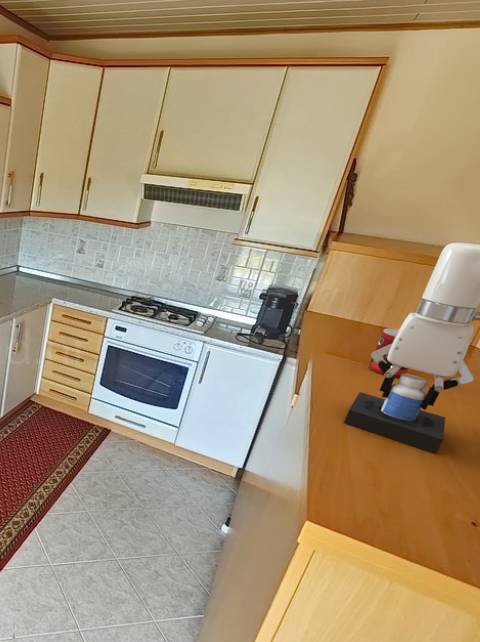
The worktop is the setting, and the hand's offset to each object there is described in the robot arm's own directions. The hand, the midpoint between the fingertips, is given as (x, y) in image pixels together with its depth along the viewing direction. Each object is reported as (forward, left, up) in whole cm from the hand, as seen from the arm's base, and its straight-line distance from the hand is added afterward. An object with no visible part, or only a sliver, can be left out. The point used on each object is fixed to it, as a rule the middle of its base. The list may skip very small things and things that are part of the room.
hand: (404, 400), depth 95 cm
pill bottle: (0, 0, -5) cm, 5 cm away
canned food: (-26, -33, -6) cm, 43 cm away
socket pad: (0, 0, -6) cm, 6 cm away
